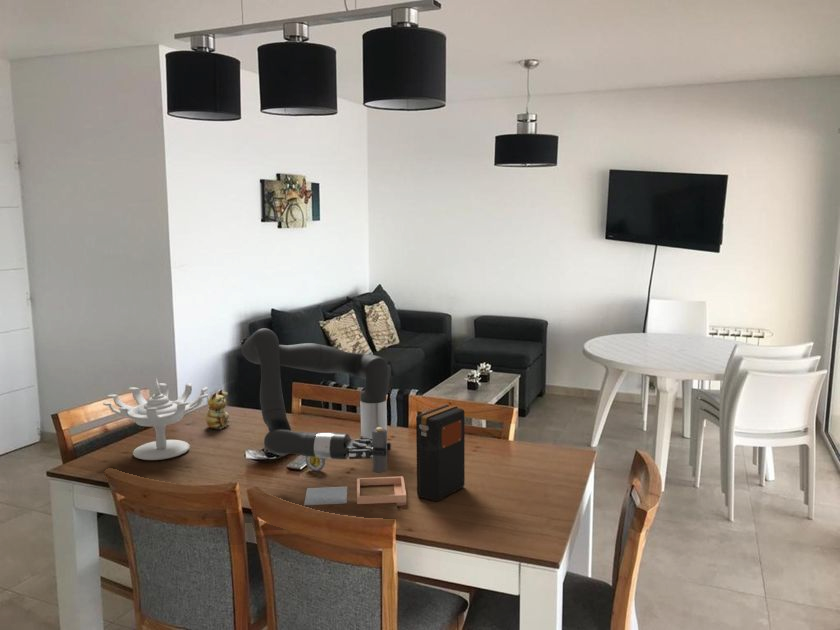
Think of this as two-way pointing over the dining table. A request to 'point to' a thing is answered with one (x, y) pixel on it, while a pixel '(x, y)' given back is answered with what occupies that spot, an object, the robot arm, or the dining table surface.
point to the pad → (326, 495)
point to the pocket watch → (315, 461)
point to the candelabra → (158, 419)
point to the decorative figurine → (217, 410)
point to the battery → (379, 442)
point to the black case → (440, 452)
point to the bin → (398, 497)
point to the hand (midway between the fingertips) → (388, 449)
